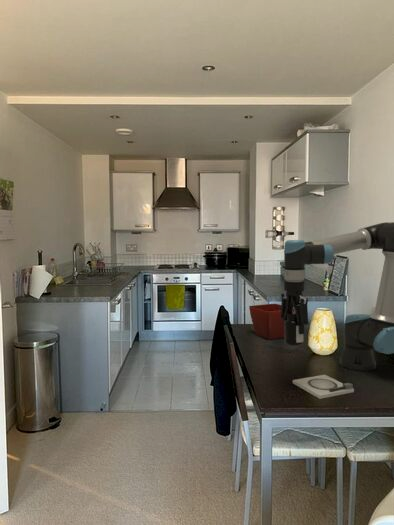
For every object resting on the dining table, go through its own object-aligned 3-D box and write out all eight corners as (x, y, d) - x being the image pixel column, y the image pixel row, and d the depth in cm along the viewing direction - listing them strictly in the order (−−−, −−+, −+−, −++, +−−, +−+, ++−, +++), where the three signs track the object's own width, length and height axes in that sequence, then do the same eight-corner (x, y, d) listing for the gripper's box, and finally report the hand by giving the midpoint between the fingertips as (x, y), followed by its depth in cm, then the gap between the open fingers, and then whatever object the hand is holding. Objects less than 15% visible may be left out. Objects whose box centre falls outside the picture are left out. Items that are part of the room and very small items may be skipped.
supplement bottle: (299, 340, 156) (300, 310, 155) (304, 345, 149) (305, 314, 148) (282, 341, 156) (282, 311, 155) (286, 346, 149) (287, 314, 148)
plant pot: (247, 333, 231) (248, 305, 230) (274, 330, 239) (275, 303, 238) (266, 342, 214) (267, 311, 213) (295, 338, 222) (295, 308, 221)
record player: (324, 377, 163) (324, 370, 163) (353, 391, 148) (354, 384, 148) (292, 383, 156) (292, 376, 156) (319, 398, 142) (320, 391, 142)
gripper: (271, 278, 158) (271, 334, 160) (302, 284, 140) (301, 347, 142) (287, 277, 161) (286, 332, 163) (319, 283, 143) (318, 345, 145)
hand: (293, 339), depth 152 cm, fingers closed on supplement bottle, 7 cm apart
